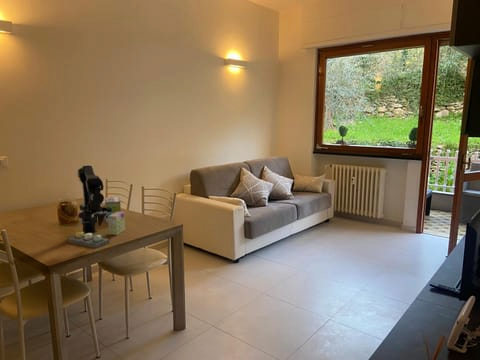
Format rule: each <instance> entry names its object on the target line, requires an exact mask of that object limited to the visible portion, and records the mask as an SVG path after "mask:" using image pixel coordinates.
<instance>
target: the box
mask: <svg viewBox="0 0 480 360" xmlns="http://www.w3.org/2000/svg"><path fill="white" fill-rule="evenodd" d="M107 224H108V226H107V227H108V235H110V236H111V235H113V236H117V235H119V234H121V233H122V232H124V231H126V221H125V212H124V211H121V212H115V213H113V214H111V215H109V216H108V223H107Z"/></svg>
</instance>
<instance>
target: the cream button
mask: <svg viewBox="0 0 480 360" xmlns="http://www.w3.org/2000/svg"><path fill="white" fill-rule="evenodd" d="M92 236H93V233H86V234H85V233H84V238H85V240H92V239H93V238H92Z"/></svg>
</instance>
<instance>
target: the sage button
mask: <svg viewBox="0 0 480 360" xmlns="http://www.w3.org/2000/svg"><path fill="white" fill-rule="evenodd" d="M92 236H93V240H94V242H97V243H98V242H101V241H102V240H101V238H102V235H101V234H95V235H92Z"/></svg>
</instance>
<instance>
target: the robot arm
mask: <svg viewBox="0 0 480 360" xmlns="http://www.w3.org/2000/svg"><path fill="white" fill-rule="evenodd" d="M77 178H78V180H79V181H80V183H81V184H82V194H83V203H82V204H80V205H79V211H80V212H79V213H78V219H80V224H81V225H82V231H83V232H84V234H86V233H92V234H94V233H97V232H98V230H96V224H97V223H98V227H101V226H102V224H103V222H104V219H106V215H107V213H105V211H107V212H112V208H111V207H109V206H105V205H103V206H102V205H101V204H103V202H104V201H105V196H104V195H103V193H102V192H101V191H104V183H103V180H102V179H101V177H100V176H99V175H96V173H95V172H94V168H93V166H92V165H82V167H81V168H78V170H77Z"/></svg>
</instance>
